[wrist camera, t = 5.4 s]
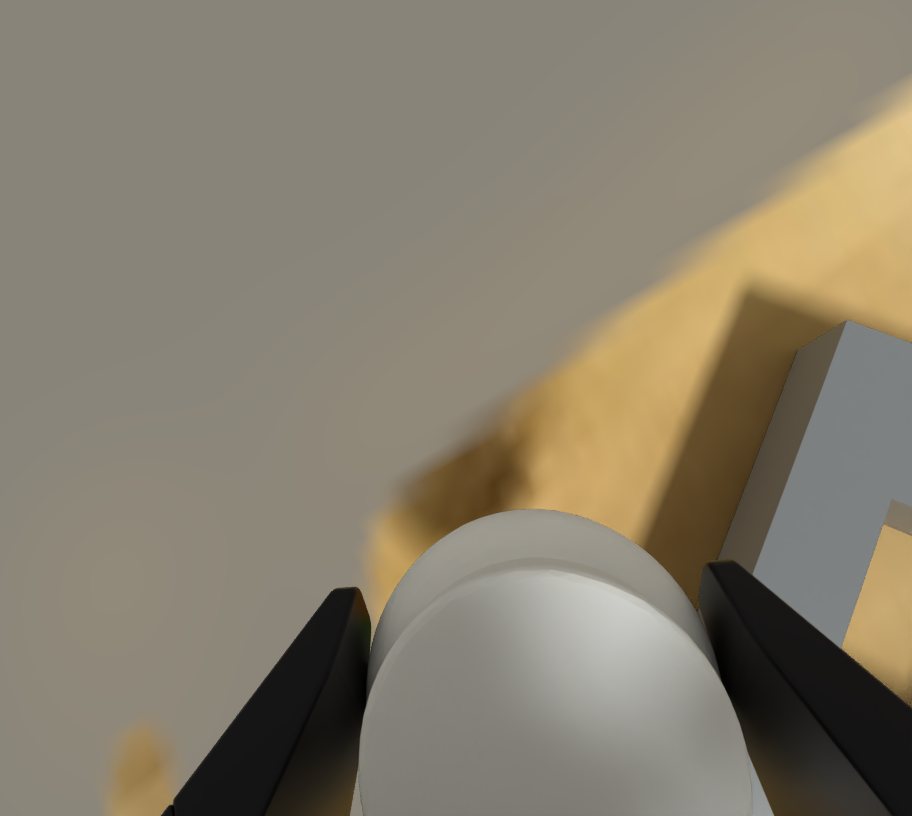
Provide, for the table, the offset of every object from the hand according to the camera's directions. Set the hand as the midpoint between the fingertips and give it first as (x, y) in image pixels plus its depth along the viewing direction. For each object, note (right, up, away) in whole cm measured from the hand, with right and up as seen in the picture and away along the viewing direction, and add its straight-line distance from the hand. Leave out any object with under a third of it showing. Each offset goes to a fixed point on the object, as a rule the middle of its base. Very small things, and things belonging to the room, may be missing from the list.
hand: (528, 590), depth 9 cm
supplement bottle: (+1, -3, +6) cm, 7 cm away
